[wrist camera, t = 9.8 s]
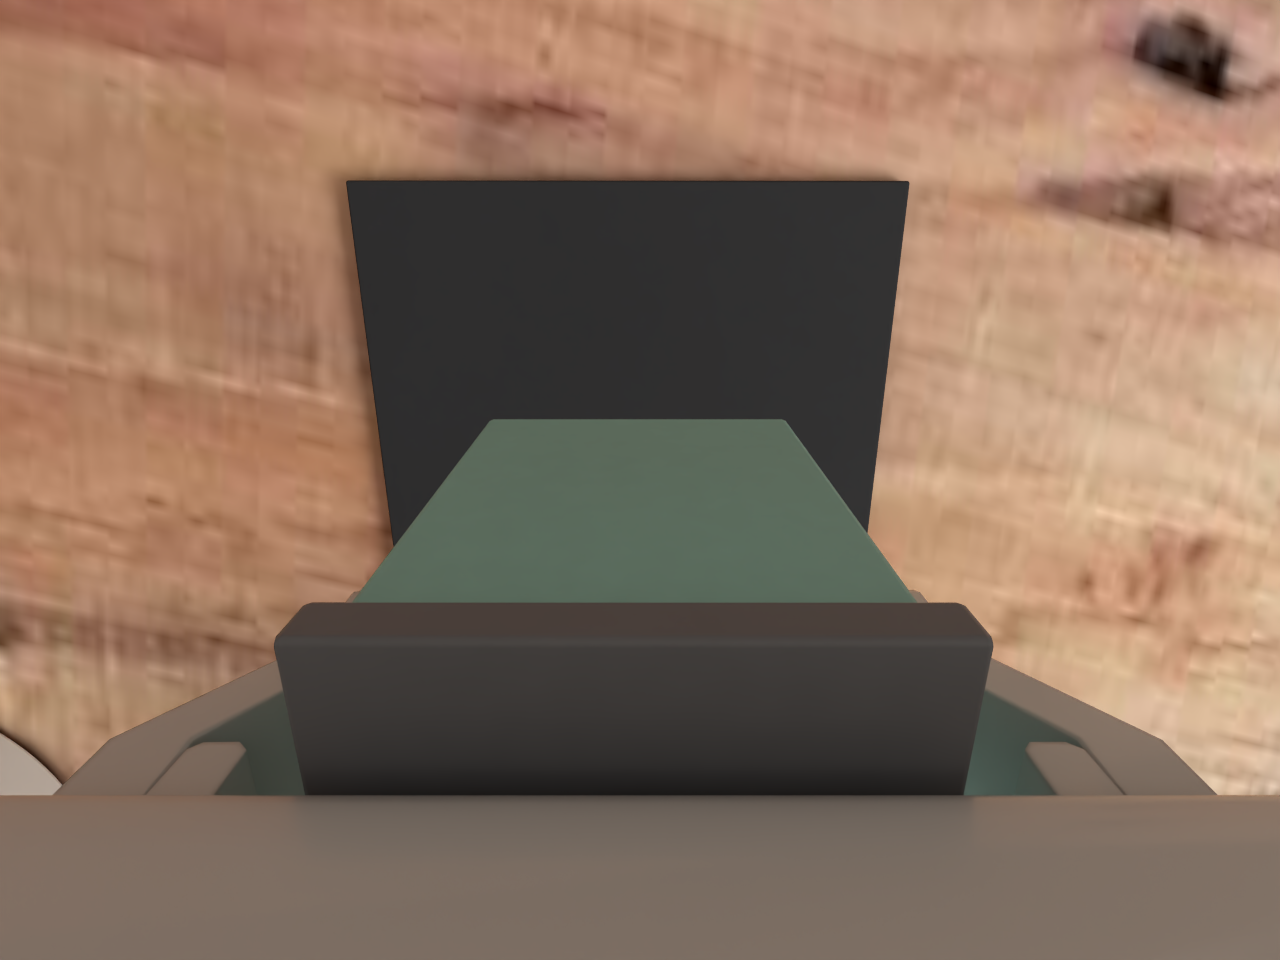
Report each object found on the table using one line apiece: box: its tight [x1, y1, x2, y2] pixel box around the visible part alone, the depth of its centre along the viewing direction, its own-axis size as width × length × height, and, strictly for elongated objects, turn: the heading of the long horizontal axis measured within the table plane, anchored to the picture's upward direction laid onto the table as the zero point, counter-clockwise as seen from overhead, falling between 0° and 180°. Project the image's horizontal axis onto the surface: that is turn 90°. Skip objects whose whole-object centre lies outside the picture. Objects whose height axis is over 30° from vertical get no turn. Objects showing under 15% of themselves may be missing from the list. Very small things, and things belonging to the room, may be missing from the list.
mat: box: [346, 181, 909, 546], centre depth 24 cm, size 17×14×1 cm
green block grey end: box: [274, 419, 993, 795], centre depth 9 cm, size 5×5×7 cm
